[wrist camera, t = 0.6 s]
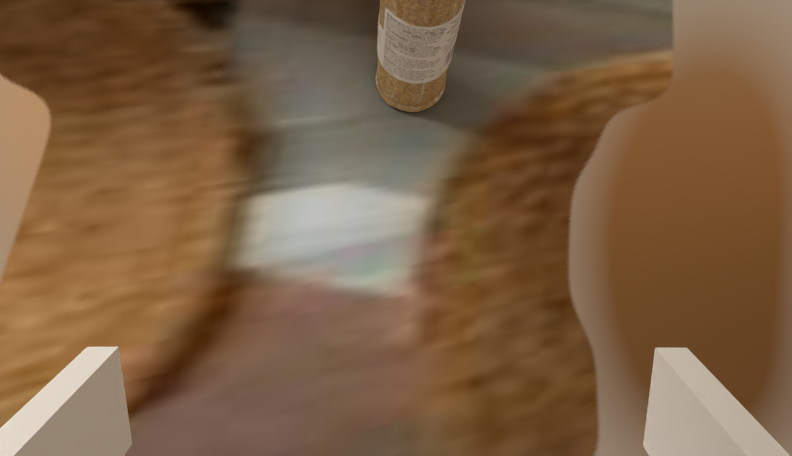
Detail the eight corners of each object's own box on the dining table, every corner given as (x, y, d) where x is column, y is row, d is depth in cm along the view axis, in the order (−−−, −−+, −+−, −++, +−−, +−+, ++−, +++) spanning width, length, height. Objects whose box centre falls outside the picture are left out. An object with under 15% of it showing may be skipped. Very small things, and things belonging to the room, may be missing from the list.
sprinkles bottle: (396, 41, 40) (413, -146, 27) (458, 73, 39) (505, -103, 27) (360, 94, 38) (360, -78, 26) (424, 128, 38) (456, -31, 25)
